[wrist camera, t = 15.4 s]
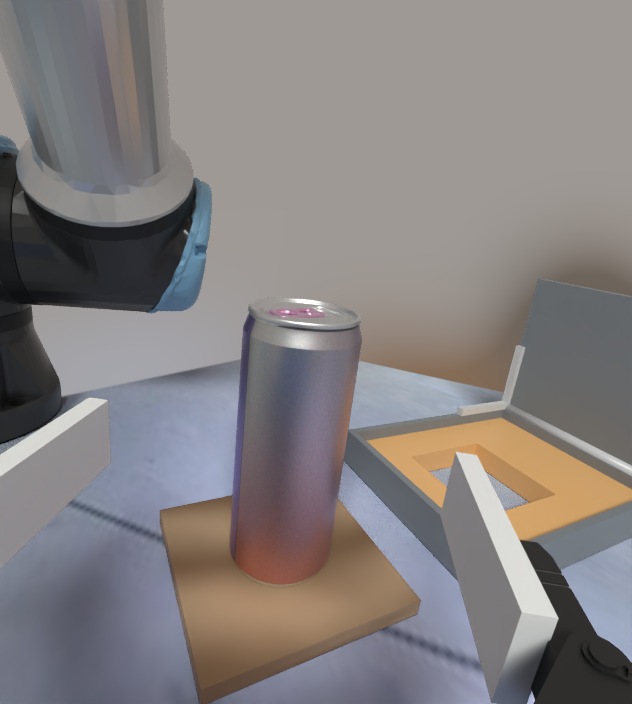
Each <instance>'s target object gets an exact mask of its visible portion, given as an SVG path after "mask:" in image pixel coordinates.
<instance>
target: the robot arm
mask: <svg viewBox="0 0 632 704" xmlns="http://www.w3.org/2000/svg"><path fill="white" fill-rule="evenodd" d="M164 27H165V26H164V8H163V0H0V52H1V54H2V57H3V60H4V63H5V66H6V69H7V71H8V74H9V77H10V80H11V83H12V86H13V88H14V91H15V94H16V97H17V100H18V103H19V106H20V109H21V111H22V114H23V117H24V120H25V123H26V125H27V129H28V131H29V134H30V138H29V139H28V140H27V141H26V142H25V143H24V145H23V146H22V147H21V149H20V151H19V150H18V149H17V148H16V145H15V143H14V142H13V141H12V140H11V139H10V138H8V137H5V136H2V135H0V442H4V441H7V440H10V439H12V438H15V437H18V436H20V435H23V434H25V433H27V432H29V431H31V430H33V429H35V428H37V427H39V426H41V425H42V424H44V423H45V422H47V421H48V420H50V419H51V418H52V417H53V416H54V415H55V414H56V413H57V412H58V411H59V409H60V407H61V403H62V400H61V387H60V382H59V378H58V376H57V374H56V372H55V370H54V368H53V366H52V364H51V362H50V360H49V358H48V356H47V354H46V352H45V349H44V348H43V345H42V343H41V341H40V339H39V338H38V335H37V333H36V331H35V329H34V325H33V317H32V307H31V304H32V305H53V306H68V307H82V308H98V309H112V310H127V311H141V312H147V313H155V312H157V311H183V310H186V309H188V308H190V307H191V306H192V305H193V304H194V303H195V302H196V300H197V298H198V296H199V292H200V289H201V285H202V280H203V274H204V269H205V263H206V249H207V245H208V240H209V233H210V222H211V208H212V194H211V188H210V186H209V185H208V184H207V183H205V182H202V181H200V180H198V179H197V178H193V169H192V165H191V162H190V159H189V158H188V156H187V154H186V153H185V151H184V150H183V149H182V148H181V147H180V146H179V145H178V144H177V143H176V142H175V141H174V140H172V139H171V134H170V116H169V99H168V80H167V62H166V44H165V28H164ZM110 463H111V450H110V426H109V401H108V400H104V399H97V398H91V397H89V398H87V399H86V400H84V401H83V402H81V403H80V404H78V405H77V406H75V407H73V408H72V409H70V410H69V411H67V412H66V413H64V414H63V415H61V416H60V417H58V418H56V419H55V420H53V421H52V422H50V423H49V424H47V425H46V426H44V427H42V428H41V429H39V430H38V431H36V432H35V433H33V434H32V435H30V436H29V437H27V438H25V439H24V440H22V441H21V442H19V443H18V444H16V445H15V446H13V447H11V448H10V449H8V450H7V451H5V452H4V453H2V454H1V455H0V569H1V568H2V567H3V566H4V565H6V564H7V563H8V562H9V561H10V560H11V559H12V558H13V557H14V556H15V555H16V554H17V553H18V552H19V551H20V550H21V549H22V548H23V547H24V546H25V545H26V544H27V543H28V542H29V541H30V540H31V539H32V538H34V537H35V536H36V535H37V534H38V533H39V532H40V531H41V530H42V529H43V528H44V527H45V526H46V525H47V524H48V523H49V522H50V521H51V520H52V519H53V518H54V517H55V516H56V515H57V514H58V513H59V512H60V511H62V510H63V509H64V508H65V507H66V506H67V505H68V504H69V503H70V502H71V501H72V500H73V499H74V498H75V497H76V496H77V495H78V494H79V493H80V492H81V491H82V490H83V489H84V488H85V487H86V486H87V485H89V484H90V483H91V482H92V481H93V480H94V479H95V478H96V477H97V476H98V475H99V474H100V473H101V472H102V471H103V470H104V469H105V468H106V467H107V466H108V465H109V464H110ZM440 516H441V519H442V523H443V527H444V530H445V534H446V538H447V541H448V545H449V549H450V552H451V556H452V560H453V563H454V567H455V571H456V574H457V578H458V582H459V586H460V589H461V593H462V597H463V600H464V604H465V608H466V611H467V615H468V619H469V622H470V626H471V630H472V633H473V637H474V641H475V644H476V648H477V652H478V655H479V659H480V663H481V666H482V670H483V674H484V677H485V681H486V685H487V688H488V692H489V696H490V699H491V702H492V703H497V704H527V702H528V699H529V696H530V694H531V691H532V692H533V695H534V698H535V702H534V704H632V663H631V662H630V660H629V659H628V658H627V657H626V656H625V655H624V654H623V652H622V651H620V650H619V649H618V648H617V647H615V646H614V645H613V644H612V643H610V642H609V641H607V640H605V639H603V638H601V637H599V636H598V635H597V634H596V632H595V630H594V628H593V627H592V625H591V623H590V621H589V620H588V618H587V616H586V614H585V613H584V611H583V609H582V607H581V606H580V604H579V602H578V600H577V599H576V597H575V595H574V593H573V592H572V590H571V589H569V585H568V583H567V581H566V580H565V578H564V576H562V575H561V571H560V569H559V567H558V566H557V564H556V562H555V560H554V559H553V557H552V556H551V555H550V554H549V553H548V552H547V551H546V550H545V549H544V548H543V547H542V546H541V545H540V544H539V543H538V542H531V541H525V540H519V538H518V536H517V534H516V532H515V530H514V528H513V526H512V524H511V522H510V520H509V518H508V516H507V514H506V512H505V510H504V508H503V506H502V504H501V502H500V500H499V498H498V496H497V494H496V492H495V490H494V488H493V486H492V484H491V482H490V480H489V478H488V476H487V474H486V472H485V470H484V468H483V466H482V464H481V462H480V460H479V458H478V456H477V455H473V454H467V453H460V452H455V456H454V460H453V464H452V468H451V473H450V477H449V481H448V485H447V489H446V493H445V498H444V502H443V506H442V510H441V514H440Z"/></svg>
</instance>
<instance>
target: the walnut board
mask: <svg viewBox="0 0 632 704" xmlns="http://www.w3.org/2000/svg"><path fill="white" fill-rule="evenodd" d="M232 496H233V495H232ZM232 496H227V497H222V498H217V499H212V500H207V501H202V502H198V503H193V504H188V505H183V506H178V507H173V508H168V509H163V510H160V525H161V530H162V534H163V539H164V544H165V548H166V553H167V557H168V562H169V566H170V571H171V575H172V580H173V584H174V589H175V594H176V598H177V603H178V607H179V612H180V616H181V621H182V625H183V630H184V634H185V639H186V644H187V648H188V653H189V657H190V662H191V666H192V671H193V675H194V680H195V684H196V689H197V694H198V698H199V703H200V704H207V703H210V702H212V701H214V700H217V699H219V698H221V697H224V696H226V695H228V694H231V693H233V692H235V691H238V690H240V689H243V688H245V687H247V686H250V685H252V684H254V683H257V682H259V681H261V680H264V679H266V678H268V677H271V676H273V675H275V674H278V673H280V672H282V671H285V670H287V669H289V668H292V667H294V666H296V665H299V664H301V663H303V662H306V661H308V660H311V659H313V658H315V657H318V656H320V655H322V654H325V653H327V652H329V651H332V650H334V649H336V648H339V647H341V646H343V645H346V644H348V643H350V642H353V641H355V640H357V639H360V638H362V637H364V636H367V635H369V634H372V633H374V632H376V631H379V630H381V629H383V628H386V627H388V626H390V625H393V624H395V623H397V622H400V621H402V620H404V619H407V618H409V617H411V616H414V615H416V614H417V613H418V609H419V605H420V601H421V600H420V599H419V598H418V596H417V595H416V594H415V593H414V591H413V590H412V589H411V588H410V587H409V585H408V584H407V583H406V582H405V580H404V579H403V578H402V577H401V575H400V574H399V573H398V572H397V571H396V569H395V568H394V567H393V566H392V564H391V563H390V562H389V561H388V559H387V558H386V557H385V556H384V555H383V553H382V552H381V551H380V550H379V548H378V547H377V546H376V545H375V543H374V542H373V541H372V540H371V539H370V537H369V536H368V535H367V534H366V532H365V531H364V530H363V529H362V527H361V526H360V525H359V524H358V523H357V521H356V520H355V519H354V518H353V516H352V515H351V514H350V513H349V511H348V510H347V509H346V508H345V507H344V505H343V504H342V503H341V502H340V500H339V499H337V506H336V512H335V519H334V525H333V532H332V538H331V545H330V551H329V556H328V559H327V561H326V563H325V564H324V566H323V567H322V568H321V569H320V570H319V571H318V572H317V573H316V574H315V575H314V576H312V577H311V578H310V579H308V580H307V581H305V582H303V583H301V584H298V585H295V586H290V587H271V586H266V585H263V584H260V583H258V582H256V581H254V580H252V579H250V578H249V577H248V576H246V575H245V574H244V573H243V572H242V571H241V569H240V568H239V567H238V566H237V564H236V563H235V561H234V559H233V558H232V555H231V552H230V546H229V543H230V527H231V511H232Z"/></svg>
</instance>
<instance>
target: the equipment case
mask: <svg viewBox="0 0 632 704" xmlns="http://www.w3.org/2000/svg"><path fill="white" fill-rule="evenodd" d="M455 452H460V453H467V454H473V455H477V456H478V458H479V460H480V462H481V464H482V466H483V468H484V470H485V471H486V472H488V473H489V474H491V475H492V476H493V477H495V478H496V479H498V480H499V481H500V482H502V483H503V484H505V485H506V486H508V487H509V488H510V489H512V490H513V491H515V492H516V493H517V494H519V495H520V496H522V497H523V498H525V499H526V500H527V501H529V502H530V503H528V504H525V505H522V506H519V507H515V508H512V509H509V510H506V511H505V512H506V514H507V516H508V518H509V520H510V522H511V524H512V526H513V528H514V530H515V532H516V534H517V536H518V538H519V540H525V541H531V542H538V543H539V544H540V545H541V546H542V547H543V548H544V549H545V550H546V551H547V552H548V553H549V554H550V555H551V556H552V557H553V559H554V560H555V562H556V564H557V566H558V567H559V569H560V570H561V569H563V568H565V567H567V566H570V565H572V564H574V563H576V562H578V561H581V560H583V559H585V558H587V557H589V556H592V555H594V554H596V553H598V552H600V551H603V550H605V549H607V548H609V547H611V546H613V545H616V544H618V543H620V542H622V541H624V540H627V539H629V538H631V537H632V296H627V295H621V294H617V293H612V292H607V291H601V290H596V289H591V288H586V287H581V286H576V285H571V284H566V283H561V282H556V281H551V280H545V279H538V281H537V285H536V289H535V293H534V296H533V300H532V303H531V307H530V311H529V315H528V319H527V322H526V326H525V329H524V333H523V337H522V341H521V344H520V345H519V346H516V349H515V353H514V357H513V361H512V364H511V368H510V372H509V375H508V379H507V383H506V387H505V391H504V394H503V398H502V401H496V402H489V403H482V404H475V405H468V406H461V407H458V409H457V413H456V414H450V415H443V416H437V417H430V418H424V419H417V420H410V421H404V422H397V423H391V424H384V425H377V426H371V427H364V428H358V429H351V430H348V434H347V441H346V447H345V454H344V461H345V462H346V463H347V464H348V465H349V466H350V467H351V469H352V470H353V471H354V472H355V473H356V474H357V475H358V476H359V477H360V478H361V479H362V480H363V481H364V482H365V483H366V484H367V485H368V486H369V488H370V489H371V490H372V491H373V492H374V493H375V494H376V495H377V496H378V497H379V498H380V499H381V500H382V501H383V502H384V503H385V504H386V505H387V506H388V508H389V509H390V510H391V511H392V512H393V513H394V514H395V515H396V516H397V517H398V518H399V519H400V520H401V521H402V522H403V523H404V524H405V525H406V527H407V528H408V529H409V530H410V531H411V532H412V533H413V534H414V535H415V536H416V537H417V538H418V539H419V540H420V541H421V542H422V543H423V544H424V545H425V547H426V548H427V549H428V550H429V551H430V552H431V553H432V554H433V555H434V556H435V557H436V558H437V559H438V560H439V561H440V562H441V563H442V564H443V566H444V567H445V568H446V569H447V570H448V571H449V572H450V573H451V574H452V575H453V576H454V577H455V578H456V579H457V580H458V578H457V574H456V571H455V567H454V563H453V560H452V556H451V552H450V549H449V545H448V541H447V538H446V534H445V530H444V527H443V523H442V519H441V516H440V514H441V510H442V506H443V502H444V498H445V493H446V489H447V487H446V486H445V485H444V484H443V483H442V482H440V481H439V480H438V479H437V478H436V477H434V476H433V475H432V474H431V473H429V472H430V471H434V470H439V469H443V468H447V467H452V464H453V460H454V456H455Z"/></svg>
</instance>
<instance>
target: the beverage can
mask: <svg viewBox="0 0 632 704" xmlns="http://www.w3.org/2000/svg"><path fill="white" fill-rule="evenodd" d="M248 310H249V315H248V317H247V319H246V322H245V324H244V326H243V339H242V356H241V370H240V386H239V401H238V417H237V433H236V449H235V464H234V480H233V496H232V511H231V527H230V543H229V546H230V552H231V555H232V558H233V559H234V561H235V563H236V564H237V566H238V567H239V568H240V569H241V571H242V572H243V573H244V574H245V575H246V576H248V577H249V578H250V579H252V580H254V581H256V582H258V583H260V584H263V585H266V586H271V587H290V586H295V585H298V584H301V583H303V582H305V581H307V580H308V579H310V578H311V577H312V576H314V575H315V574H316V573H317V572H318V571H319V570H320V569H321V568H322V567H323V566H324V564H325V563H326V561H327V559H328V556H329V551H330V545H331V538H332V532H333V525H334V519H335V512H336V506H337V499H338V493H339V486H340V480H341V473H342V467H343V460H344V454H345V447H346V441H347V434H348V428H349V421H350V415H351V408H352V402H353V395H354V389H355V382H356V376H357V369H358V362H359V356H360V349H361V343H362V337H361V332H360V326H359V324H360V323H361V316H360V315H359V314H358V313H357V312H356V311H354V310H352V309H349V308H347V307H344V306H341V305H337V304H333V303H328V302H323V301H317V300H310V299H301V298H264V299H258V300H255V301H253V302H251V303H250V304H249V307H248Z"/></svg>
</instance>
